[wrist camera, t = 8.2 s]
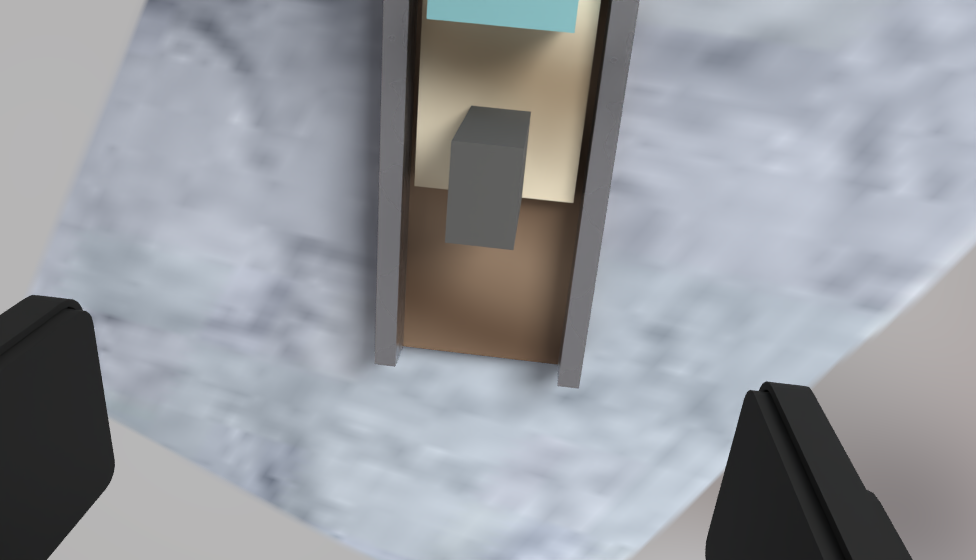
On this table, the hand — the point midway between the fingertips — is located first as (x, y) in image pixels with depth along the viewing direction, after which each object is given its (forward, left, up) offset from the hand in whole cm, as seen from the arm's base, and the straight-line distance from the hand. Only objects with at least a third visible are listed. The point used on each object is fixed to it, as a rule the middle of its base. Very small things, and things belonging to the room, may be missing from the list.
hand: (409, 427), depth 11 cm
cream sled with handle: (-3, 0, -17) cm, 17 cm away
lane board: (0, 0, -18) cm, 18 cm away
